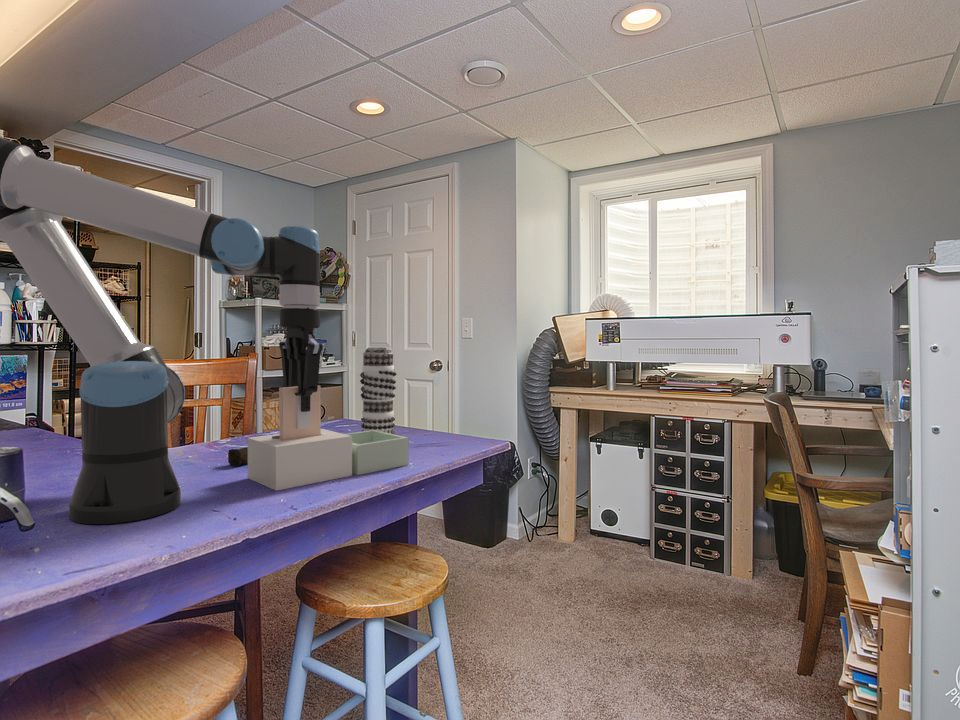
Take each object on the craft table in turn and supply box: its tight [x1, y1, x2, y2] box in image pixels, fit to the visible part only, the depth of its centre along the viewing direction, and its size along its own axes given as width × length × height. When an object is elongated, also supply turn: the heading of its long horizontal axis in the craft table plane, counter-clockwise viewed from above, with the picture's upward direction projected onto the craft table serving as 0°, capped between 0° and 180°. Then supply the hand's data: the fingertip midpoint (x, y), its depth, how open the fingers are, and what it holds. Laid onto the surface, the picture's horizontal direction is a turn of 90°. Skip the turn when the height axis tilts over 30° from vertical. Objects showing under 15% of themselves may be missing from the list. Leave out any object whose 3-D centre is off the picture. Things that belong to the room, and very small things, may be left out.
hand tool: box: [227, 446, 248, 468], centre depth 128 cm, size 19×4×5 cm, turn 148°
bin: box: [345, 430, 410, 476], centre depth 123 cm, size 13×13×6 cm
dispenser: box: [247, 428, 353, 491], centre depth 111 cm, size 16×12×8 cm
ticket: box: [278, 384, 322, 441], centre depth 111 cm, size 8×2×16 cm, turn 136°
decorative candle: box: [359, 347, 398, 435], centre depth 144 cm, size 9×9×25 cm
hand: (300, 427), depth 111 cm, fingers closed on ticket, 1 cm apart
